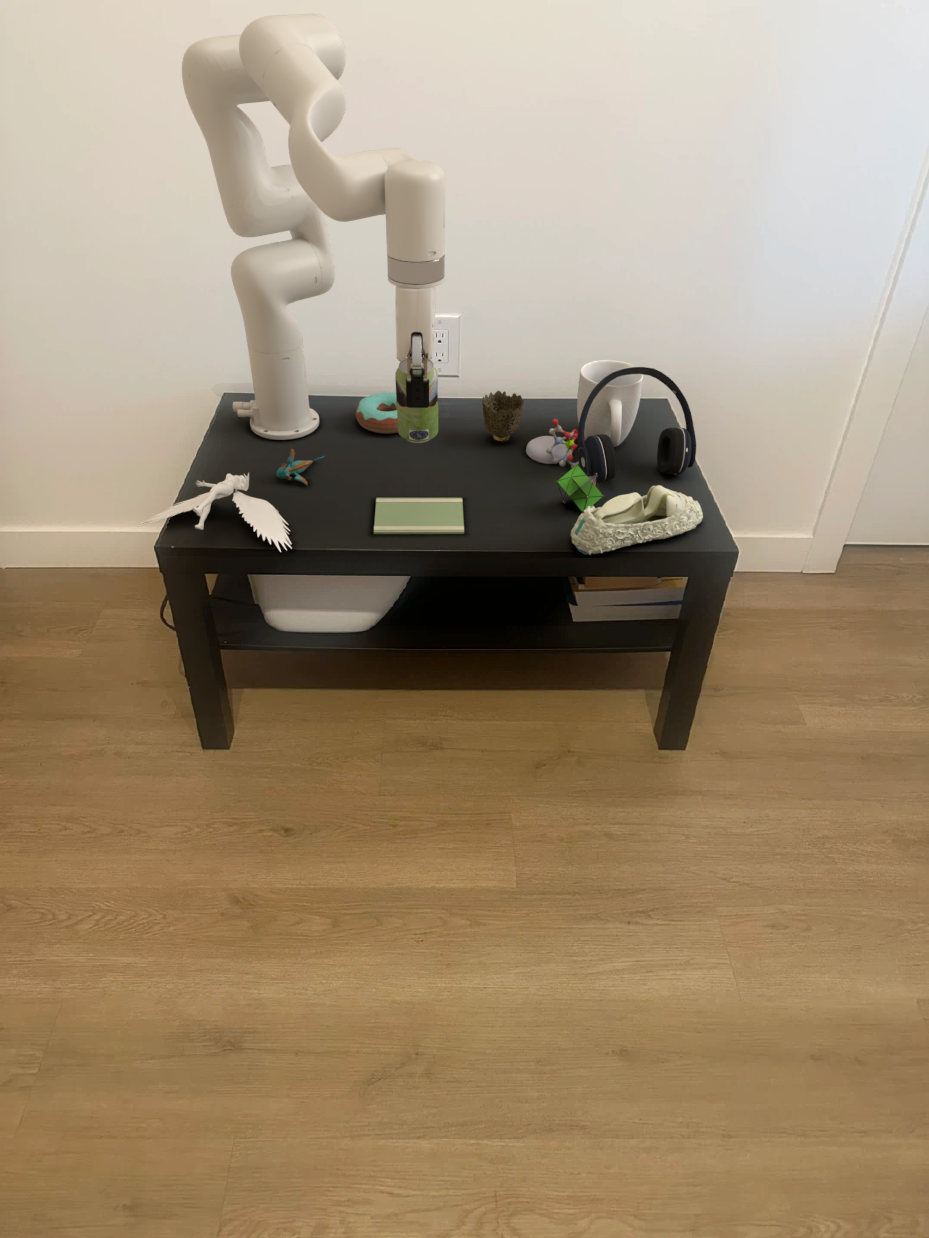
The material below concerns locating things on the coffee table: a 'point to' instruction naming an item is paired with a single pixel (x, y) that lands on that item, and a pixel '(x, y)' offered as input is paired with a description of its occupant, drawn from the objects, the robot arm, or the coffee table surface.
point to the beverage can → (417, 421)
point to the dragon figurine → (294, 468)
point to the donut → (378, 413)
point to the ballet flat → (635, 520)
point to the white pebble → (539, 446)
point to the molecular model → (569, 444)
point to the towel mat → (419, 516)
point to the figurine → (252, 508)
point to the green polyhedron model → (580, 488)
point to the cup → (502, 415)
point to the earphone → (672, 445)
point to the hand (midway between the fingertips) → (418, 395)
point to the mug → (609, 400)
